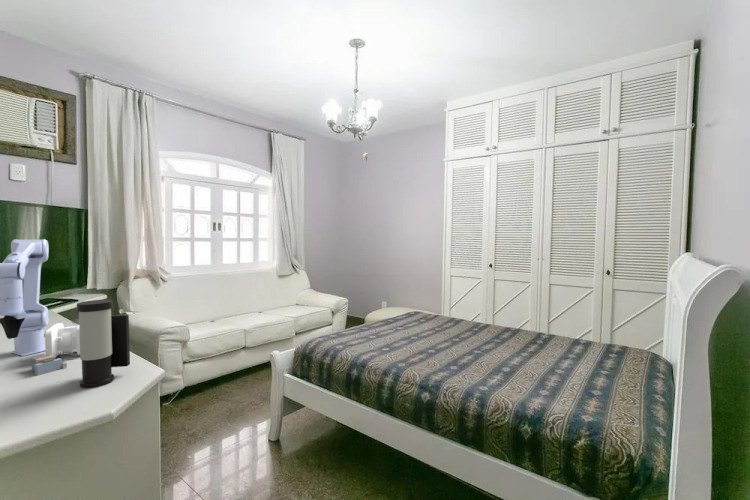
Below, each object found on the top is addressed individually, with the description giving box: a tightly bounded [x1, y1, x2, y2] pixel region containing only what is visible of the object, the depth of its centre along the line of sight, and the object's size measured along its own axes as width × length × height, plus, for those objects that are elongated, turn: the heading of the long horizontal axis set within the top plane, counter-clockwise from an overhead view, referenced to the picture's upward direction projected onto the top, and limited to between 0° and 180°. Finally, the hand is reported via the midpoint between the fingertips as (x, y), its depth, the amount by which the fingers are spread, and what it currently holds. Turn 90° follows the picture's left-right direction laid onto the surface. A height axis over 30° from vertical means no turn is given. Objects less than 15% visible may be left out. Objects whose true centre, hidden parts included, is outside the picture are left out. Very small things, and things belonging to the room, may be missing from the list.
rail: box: [37, 355, 68, 369], centre depth 121 cm, size 18×1×2 cm, turn 65°
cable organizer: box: [44, 322, 80, 359], centre depth 131 cm, size 15×11×12 cm
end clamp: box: [33, 357, 63, 376], centre depth 115 cm, size 2×6×4 cm, turn 155°
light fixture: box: [76, 299, 131, 389], centre depth 106 cm, size 12×11×25 cm
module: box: [30, 354, 56, 371], centre depth 117 cm, size 6×4×4 cm
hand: (12, 337), depth 117 cm, fingers closed
